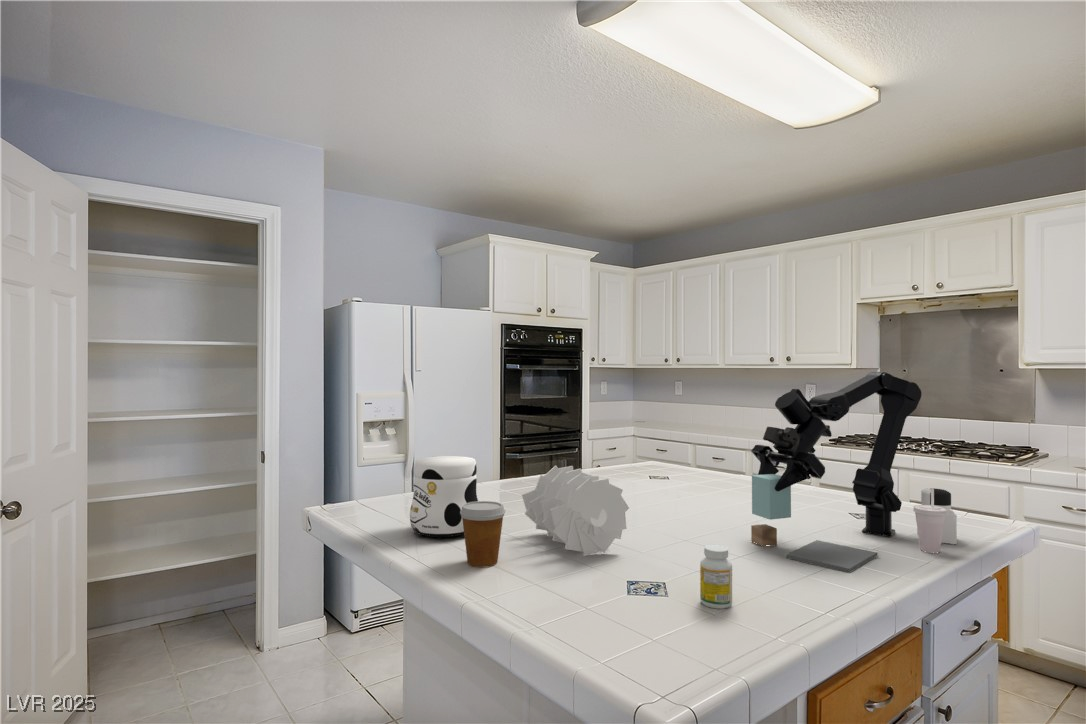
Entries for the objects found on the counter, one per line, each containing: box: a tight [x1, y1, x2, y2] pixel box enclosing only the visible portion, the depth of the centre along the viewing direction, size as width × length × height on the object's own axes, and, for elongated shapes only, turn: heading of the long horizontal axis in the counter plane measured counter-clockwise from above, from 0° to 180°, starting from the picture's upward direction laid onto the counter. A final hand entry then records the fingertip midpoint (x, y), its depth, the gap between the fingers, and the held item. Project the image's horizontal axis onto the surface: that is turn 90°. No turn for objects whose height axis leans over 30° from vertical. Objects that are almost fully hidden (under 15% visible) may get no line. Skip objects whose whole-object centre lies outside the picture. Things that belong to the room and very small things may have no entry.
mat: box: [785, 539, 878, 573], centre depth 131 cm, size 16×13×1 cm
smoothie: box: [912, 489, 947, 554], centre depth 135 cm, size 6×6×14 cm
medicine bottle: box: [916, 487, 958, 545], centre depth 145 cm, size 7×7×12 cm
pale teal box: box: [751, 474, 792, 521], centre depth 139 cm, size 6×6×9 cm
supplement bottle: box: [699, 544, 733, 610], centre depth 104 cm, size 5×5×10 cm
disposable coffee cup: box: [460, 500, 506, 568], centre depth 126 cm, size 10×10×12 cm
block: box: [750, 523, 778, 547], centre depth 141 cm, size 4×4×4 cm
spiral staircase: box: [521, 464, 630, 557], centre depth 140 cm, size 18×18×25 cm
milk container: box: [409, 455, 479, 538], centre depth 150 cm, size 17×17×18 cm
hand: (766, 487), depth 139 cm, fingers closed on pale teal box, 6 cm apart
